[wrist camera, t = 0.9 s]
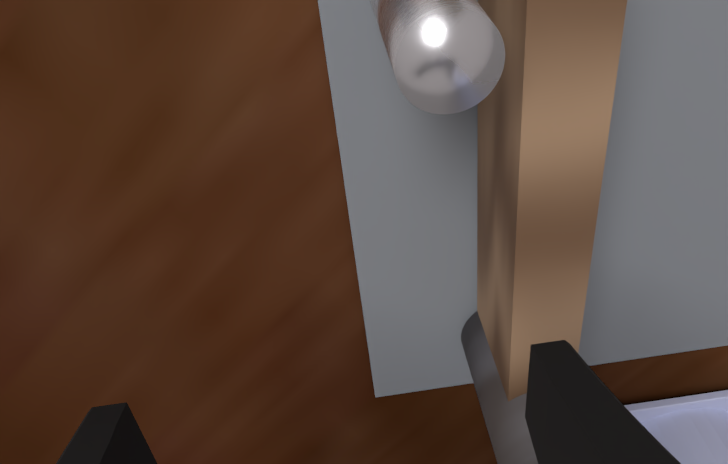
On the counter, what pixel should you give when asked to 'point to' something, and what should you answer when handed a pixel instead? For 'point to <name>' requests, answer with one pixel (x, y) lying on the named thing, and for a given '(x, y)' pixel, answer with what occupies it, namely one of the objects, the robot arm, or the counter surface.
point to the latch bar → (537, 196)
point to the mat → (615, 212)
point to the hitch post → (441, 51)
